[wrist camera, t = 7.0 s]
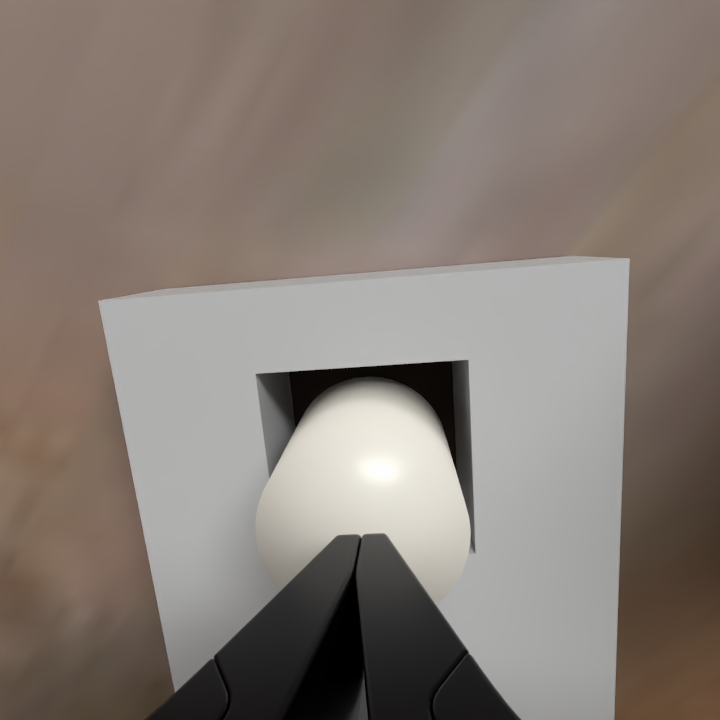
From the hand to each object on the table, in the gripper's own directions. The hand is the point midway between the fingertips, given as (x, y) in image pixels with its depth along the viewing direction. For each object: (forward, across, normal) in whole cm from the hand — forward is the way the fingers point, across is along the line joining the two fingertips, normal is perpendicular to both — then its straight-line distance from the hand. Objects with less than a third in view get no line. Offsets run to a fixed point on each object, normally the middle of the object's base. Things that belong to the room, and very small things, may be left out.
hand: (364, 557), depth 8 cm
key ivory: (+5, 0, 0) cm, 5 cm away
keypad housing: (+7, 0, +8) cm, 11 cm away
